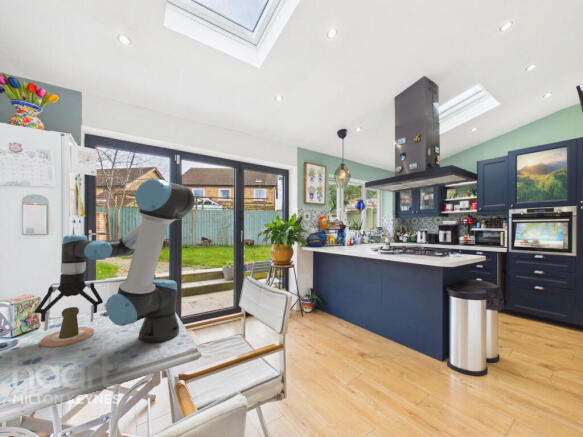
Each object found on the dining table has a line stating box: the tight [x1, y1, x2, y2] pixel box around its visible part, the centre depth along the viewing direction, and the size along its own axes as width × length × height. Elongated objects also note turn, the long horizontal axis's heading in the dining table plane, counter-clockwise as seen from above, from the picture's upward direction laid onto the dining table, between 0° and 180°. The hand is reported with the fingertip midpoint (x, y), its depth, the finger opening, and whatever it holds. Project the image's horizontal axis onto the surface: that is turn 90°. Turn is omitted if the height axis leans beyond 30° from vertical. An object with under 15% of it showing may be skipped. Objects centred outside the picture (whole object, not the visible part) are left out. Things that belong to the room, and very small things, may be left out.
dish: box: [39, 326, 95, 348], centre depth 97 cm, size 16×16×1 cm
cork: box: [59, 306, 80, 339], centre depth 97 cm, size 6×6×11 cm
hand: (69, 325), depth 97 cm, fingers open, 13 cm apart
